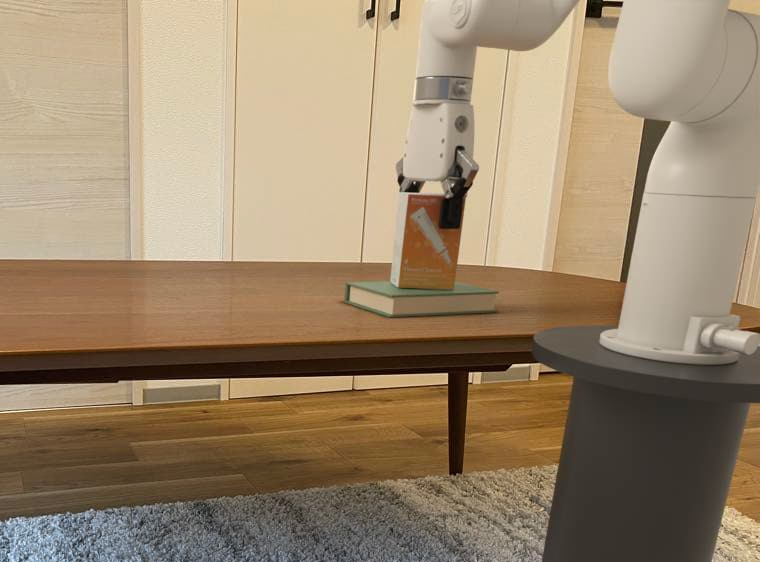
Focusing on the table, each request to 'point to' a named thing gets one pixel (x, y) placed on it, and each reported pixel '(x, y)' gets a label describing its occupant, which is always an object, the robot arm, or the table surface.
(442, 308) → the book
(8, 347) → the table surface
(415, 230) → the small box
